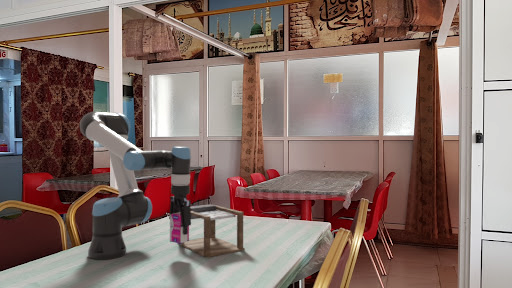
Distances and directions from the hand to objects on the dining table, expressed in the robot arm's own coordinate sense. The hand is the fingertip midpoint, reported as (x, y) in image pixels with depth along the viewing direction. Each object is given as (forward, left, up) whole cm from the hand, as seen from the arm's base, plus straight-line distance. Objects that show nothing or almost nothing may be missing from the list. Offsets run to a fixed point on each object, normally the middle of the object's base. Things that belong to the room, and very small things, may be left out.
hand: (179, 239), depth 162 cm
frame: (+19, +8, -8) cm, 22 cm away
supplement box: (0, 0, -1) cm, 1 cm away
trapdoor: (+19, +8, +5) cm, 21 cm away
